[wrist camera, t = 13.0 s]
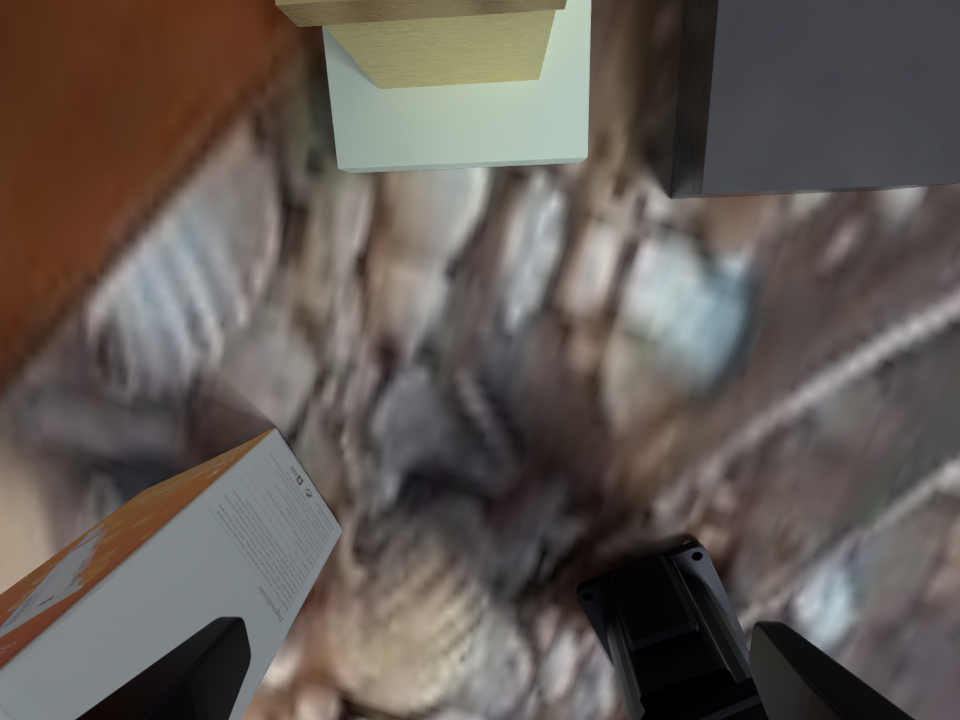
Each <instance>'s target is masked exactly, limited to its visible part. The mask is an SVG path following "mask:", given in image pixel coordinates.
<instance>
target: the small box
mask: <svg viewBox="0 0 960 720" xmlns="http://www.w3.org/2000/svg"><path fill="white" fill-rule="evenodd" d="M341 533H342V529H341V527H340V525H339V524H338V522H337V521H336V519H335V517H334V516H333V514H332V513H331V511H330V510H329V508H328V507H327V505H326V503H325V502H324V500H323V499H322V497H321V496H320V494H319V493H318V491H317V489H316V488H315V486H314V485H313V483H312V482H311V480H310V479H309V477H308V476H307V474H306V473H305V471H304V470H303V468H302V466H301V465H300V463H299V462H298V460H297V459H296V457H295V456H294V454H293V453H292V451H291V450H290V448H289V447H288V445H287V444H286V442H285V441H284V439H283V438H282V436H281V435H280V433H279V431H278V430H277V429H276V428H272V429H270V430H268V431H266V432H264V433H263V434H261V435H259V436H257V437H255V438H253V439H251V440H249V441H247V442H245V443H244V444H242V445H239V446H237V447H235V448H233V449H231V450H229V451H227V452H225V453H223V454H221V455H218V456H216V457H214V458H212V459H210V460H208V461H206V462H204V463H202V464H200V465H198V466H195V467H193V468H191V469H189V470H187V471H185V472H182V473H180V474H178V475H176V476H174V477H171V478H169V479H167V480H165V481H163V482H160V483H158V484H156V485H154V486H152V487H149V488H147V489H145V490H144V491H142V492H141V493H139V494H138V495H136V496H135V497H134V498H132V499H131V500H130V501H128V502H127V503H126V504H124V505H123V506H122V507H120V508H119V509H118V510H116V511H115V512H113V513H112V514H111V515H109V516H108V517H106V518H105V519H104V520H102V521H101V522H100V523H98V524H97V525H96V526H94V527H93V528H91V529H90V530H89V531H87V532H86V533H85V534H83V535H82V536H81V537H79V538H78V539H76V540H75V541H74V542H73V543H71V544H70V545H68V546H67V547H66V548H64V549H63V550H61V551H60V552H59V553H57V554H56V555H54V556H53V557H52V558H50V559H49V560H48V561H46V562H45V563H44V564H42V565H41V566H40V567H38V568H37V569H35V570H34V571H33V572H31V573H30V574H28V575H27V576H26V577H24V578H23V579H21V580H20V581H19V582H17V583H16V584H15V585H13V586H12V587H10V588H9V589H8V590H6V591H5V592H4V593H2V594H1V595H0V720H75V719H77V718H78V717H79V716H81V715H82V714H84V713H85V712H86V711H88V710H89V709H91V708H92V707H93V706H95V705H96V704H97V703H99V702H100V701H102V700H103V699H104V698H106V697H107V696H109V695H110V694H111V693H113V692H114V691H116V690H117V689H118V688H120V687H121V686H123V685H124V684H125V683H127V682H128V681H130V680H131V679H132V678H134V677H135V676H137V675H138V674H139V673H141V672H142V671H144V670H145V669H146V668H148V667H149V666H150V665H152V664H153V663H155V662H156V661H157V660H159V659H160V658H162V657H163V656H164V655H166V654H167V653H169V652H170V651H171V650H173V649H174V648H176V647H177V646H178V645H180V644H181V643H183V642H184V641H185V640H187V639H188V638H190V637H191V636H192V635H194V634H195V633H197V632H198V631H199V630H201V629H202V628H203V627H205V626H206V625H208V624H209V623H210V622H212V621H213V620H215V619H216V618H218V617H222V616H238V617H242V618H243V620H244V621H245V625H246V629H247V634H248V639H249V643H250V648H251V661H250V666H249V669H248V671H247V674H246V676H245V679H244V682H243V684H242V687H241V689H240V692H239V694H238V697H237V700H236V702H235V705H234V707H233V710H232V713H231V715H230V718H229V720H241V718H242V717H243V715H244V713H245V711H246V709H247V707H248V705H249V703H250V702H251V700H252V698H253V696H254V694H255V692H256V690H257V689H258V687H259V685H260V683H261V681H262V679H263V677H264V676H265V674H266V672H267V670H268V668H269V666H270V664H271V663H272V661H273V659H274V657H275V655H276V653H277V651H278V650H279V648H280V646H281V644H282V642H283V640H284V638H285V636H286V634H287V633H288V631H289V629H290V627H291V625H292V623H293V621H294V619H295V618H296V616H297V614H298V612H299V610H300V608H301V606H302V604H303V603H304V601H305V599H306V597H307V595H308V593H309V591H310V590H311V588H312V586H313V584H314V582H315V580H316V579H317V577H318V575H319V573H320V571H321V569H322V568H323V566H324V564H325V562H326V560H327V558H328V556H329V555H330V553H331V551H332V549H333V547H334V545H335V544H336V542H337V540H338V538H339V537H340V535H341Z"/></svg>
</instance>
